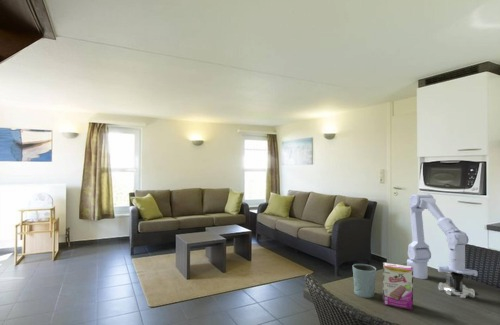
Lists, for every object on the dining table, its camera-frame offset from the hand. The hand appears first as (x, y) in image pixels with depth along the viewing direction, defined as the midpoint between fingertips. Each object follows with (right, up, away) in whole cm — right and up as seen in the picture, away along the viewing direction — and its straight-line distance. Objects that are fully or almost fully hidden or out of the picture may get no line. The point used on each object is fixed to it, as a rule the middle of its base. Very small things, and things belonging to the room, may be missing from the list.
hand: (457, 289), depth 126 cm
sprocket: (+2, -2, +4) cm, 5 cm away
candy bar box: (-31, -3, -8) cm, 32 cm away
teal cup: (-40, -3, +3) cm, 40 cm away
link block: (+3, -1, +7) cm, 7 cm away
